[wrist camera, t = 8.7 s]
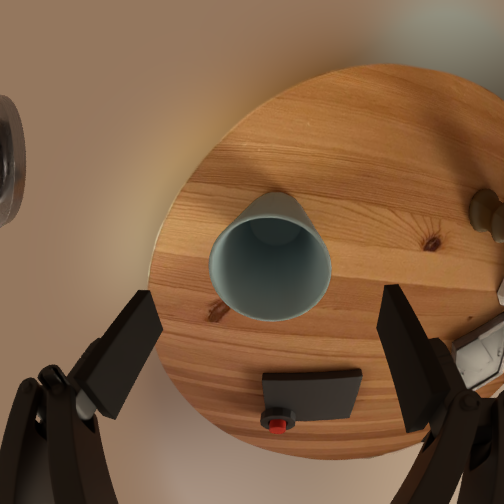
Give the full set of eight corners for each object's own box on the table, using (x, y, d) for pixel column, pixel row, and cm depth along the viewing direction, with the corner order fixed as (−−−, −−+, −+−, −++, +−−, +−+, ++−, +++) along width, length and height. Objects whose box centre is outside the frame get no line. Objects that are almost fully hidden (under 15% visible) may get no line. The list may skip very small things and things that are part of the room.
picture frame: (451, 342, 30) (447, 398, 36) (456, 351, 29) (450, 405, 35) (514, 304, 26) (499, 368, 32) (520, 312, 25) (503, 375, 31)
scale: (263, 416, 41) (261, 430, 39) (257, 372, 36) (254, 389, 33) (348, 413, 39) (349, 427, 36) (361, 368, 34) (364, 384, 31)
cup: (320, 251, 27) (333, 316, 18) (245, 260, 29) (224, 325, 19) (311, 175, 24) (325, 206, 15) (229, 188, 26) (194, 225, 16)
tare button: (270, 425, 38) (269, 433, 37) (269, 418, 37) (268, 427, 35) (286, 425, 38) (285, 434, 36) (286, 418, 37) (285, 427, 35)
